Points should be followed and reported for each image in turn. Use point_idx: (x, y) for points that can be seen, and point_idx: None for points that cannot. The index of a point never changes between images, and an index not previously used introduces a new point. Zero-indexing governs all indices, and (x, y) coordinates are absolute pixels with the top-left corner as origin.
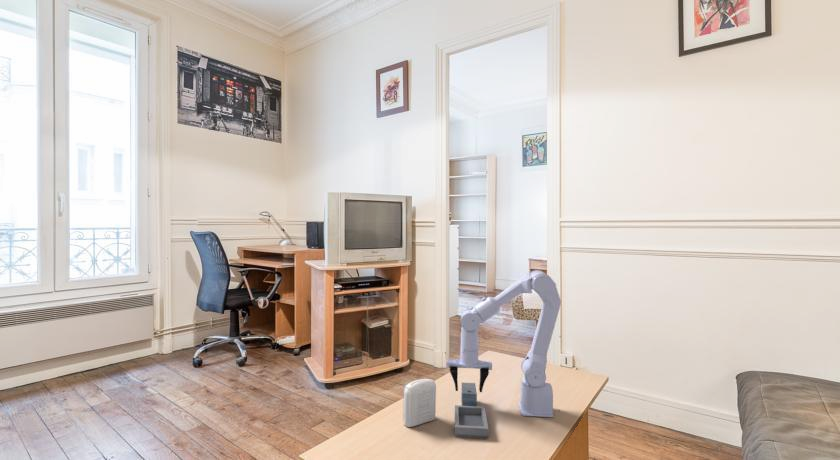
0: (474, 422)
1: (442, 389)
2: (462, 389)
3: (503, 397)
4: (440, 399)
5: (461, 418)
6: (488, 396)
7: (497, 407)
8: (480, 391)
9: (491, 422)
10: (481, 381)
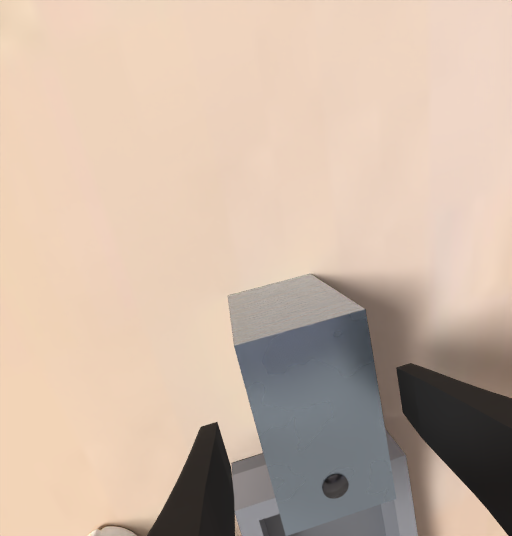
0: (346, 523)
1: (46, 178)
2: (273, 476)
3: (473, 167)
4: (94, 337)
5: (280, 519)
6: (385, 184)
7: (437, 308)
8: (412, 418)
9: (411, 458)
10: (504, 519)
